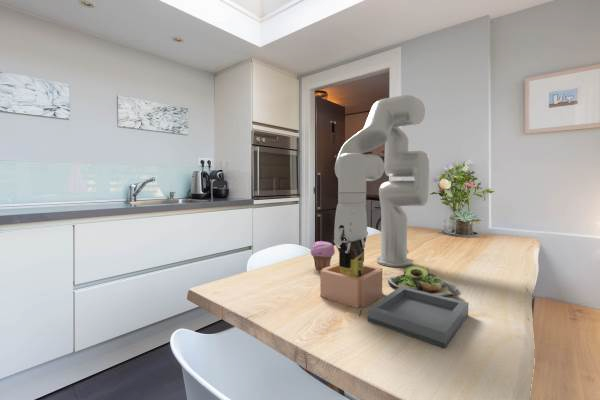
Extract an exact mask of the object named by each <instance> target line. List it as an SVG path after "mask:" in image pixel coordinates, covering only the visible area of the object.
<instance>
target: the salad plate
mask: <svg viewBox="0 0 600 400" xmlns="http://www.w3.org/2000/svg"><path fill="white" fill-rule="evenodd" d="M387 281H388V284H389V285H390V287H392V288H394V289H395V290H396V289H398V288H399V287H401V286H402V287H406V288H410V289H414V290H418V291H422V292H426V293H430V294H435V295H439V296H443V297H450V296H452V295H453V296H461V294H460V292H458V291H457V289H458V288H457V285H456V284H455V283H453V282H450V281H447V280H444V279H441V278H439V277H437V276H436V275H435V274H433V273H432V272H430V271H429V269H428V268H426V267H424V266H420V265H413V266H412V265H411V266H409V267H408V266H407V267H406V268H405V269H404V270H403V274H400V275H394V276H389V277H388V278H387Z"/></svg>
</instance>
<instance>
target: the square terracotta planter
mask: <svg viewBox="0 0 600 400" xmlns="http://www.w3.org/2000/svg"><path fill="white" fill-rule="evenodd" d="M319 271H320V272H319V273H320V279H319V280H320V282H319V283H320V290H319V293H320V294H319V295H320V297H323V298H326V299H328V300H330V301H331V300H332V301H334V302H338V303H341V304H343V305H347V306H351V307H353V308H356V309H359V308H360V307H366V306H369V304H371V303H373V302H374V301H376V300H377V299H379V298H380V297H382V296H383V268H382V267H378V266H374V265H373V266H372V265H369V264H365V263H363V276H361V277H359V278H356V277H352V276H348V275H344V274H340V266H339V262H338V263H334V264H332V265H331V264H330V266H328V267H326V268H323V269H322V270H319Z"/></svg>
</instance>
